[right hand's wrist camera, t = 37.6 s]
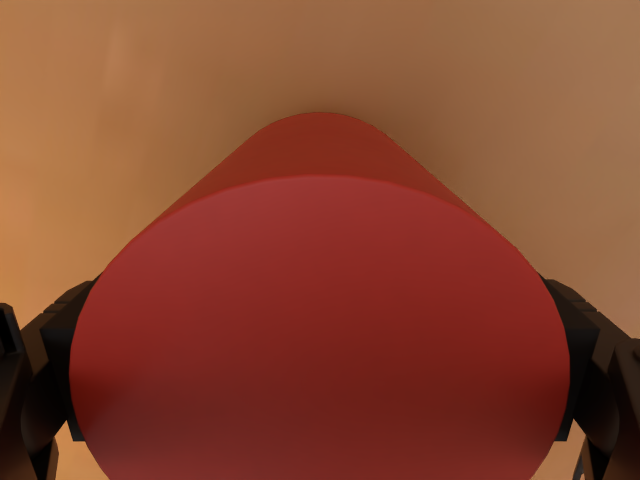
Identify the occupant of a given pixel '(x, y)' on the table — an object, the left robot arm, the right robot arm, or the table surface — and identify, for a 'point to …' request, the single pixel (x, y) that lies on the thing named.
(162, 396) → the canister
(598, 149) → the table surface
